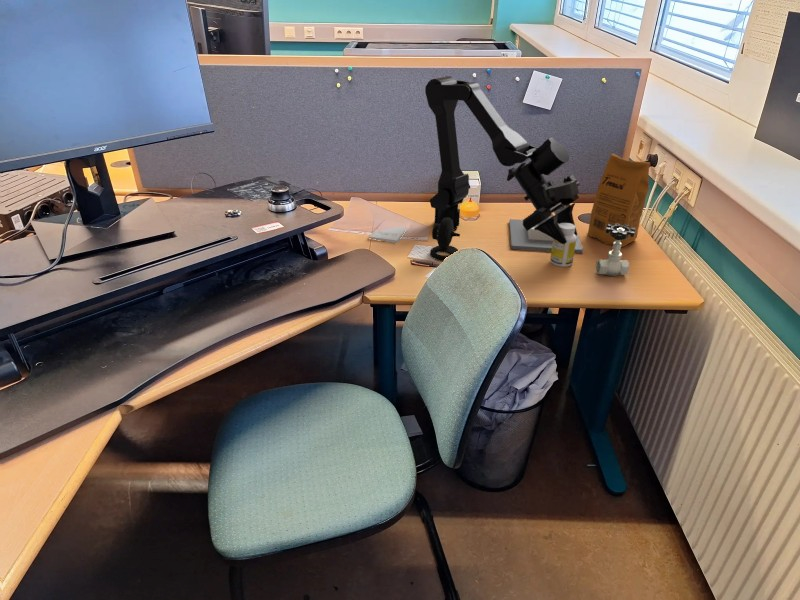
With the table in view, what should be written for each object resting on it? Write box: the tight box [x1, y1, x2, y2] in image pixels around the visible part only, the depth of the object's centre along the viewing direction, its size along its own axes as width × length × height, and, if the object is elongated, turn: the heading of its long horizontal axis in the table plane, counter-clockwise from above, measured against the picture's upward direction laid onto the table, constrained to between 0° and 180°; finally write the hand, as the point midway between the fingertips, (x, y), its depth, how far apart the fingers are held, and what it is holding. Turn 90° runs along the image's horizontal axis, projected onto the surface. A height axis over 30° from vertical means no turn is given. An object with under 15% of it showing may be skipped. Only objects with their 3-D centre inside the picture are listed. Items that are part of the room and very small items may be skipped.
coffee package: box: [587, 153, 652, 248], centre depth 143 cm, size 10×12×22 cm
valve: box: [595, 223, 636, 277], centre depth 127 cm, size 7×7×12 cm
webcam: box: [429, 218, 461, 262], centre depth 137 cm, size 8×8×10 cm
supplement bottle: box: [550, 223, 577, 268], centre depth 133 cm, size 5×5×10 cm
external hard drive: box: [368, 226, 407, 244], centre depth 152 cm, size 2×8×12 cm
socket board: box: [509, 218, 584, 254], centre depth 148 cm, size 18×18×4 cm
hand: (570, 239), depth 132 cm, fingers open, 5 cm apart
